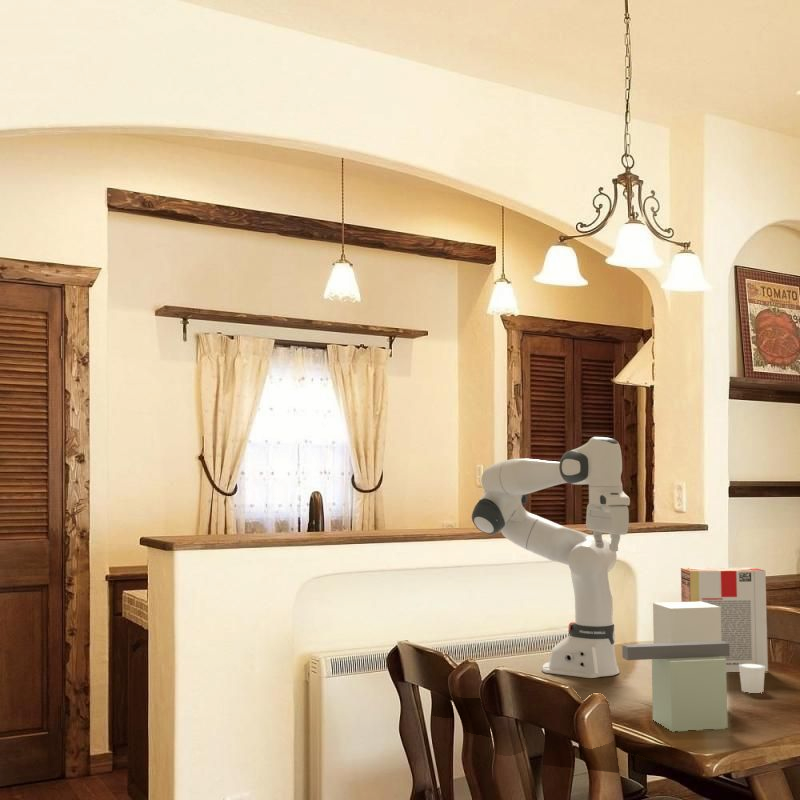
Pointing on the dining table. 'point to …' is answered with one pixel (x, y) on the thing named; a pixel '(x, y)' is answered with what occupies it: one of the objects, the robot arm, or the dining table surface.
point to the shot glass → (752, 677)
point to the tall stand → (686, 622)
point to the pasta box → (733, 609)
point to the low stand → (690, 693)
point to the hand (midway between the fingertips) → (606, 549)
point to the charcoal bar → (675, 650)
